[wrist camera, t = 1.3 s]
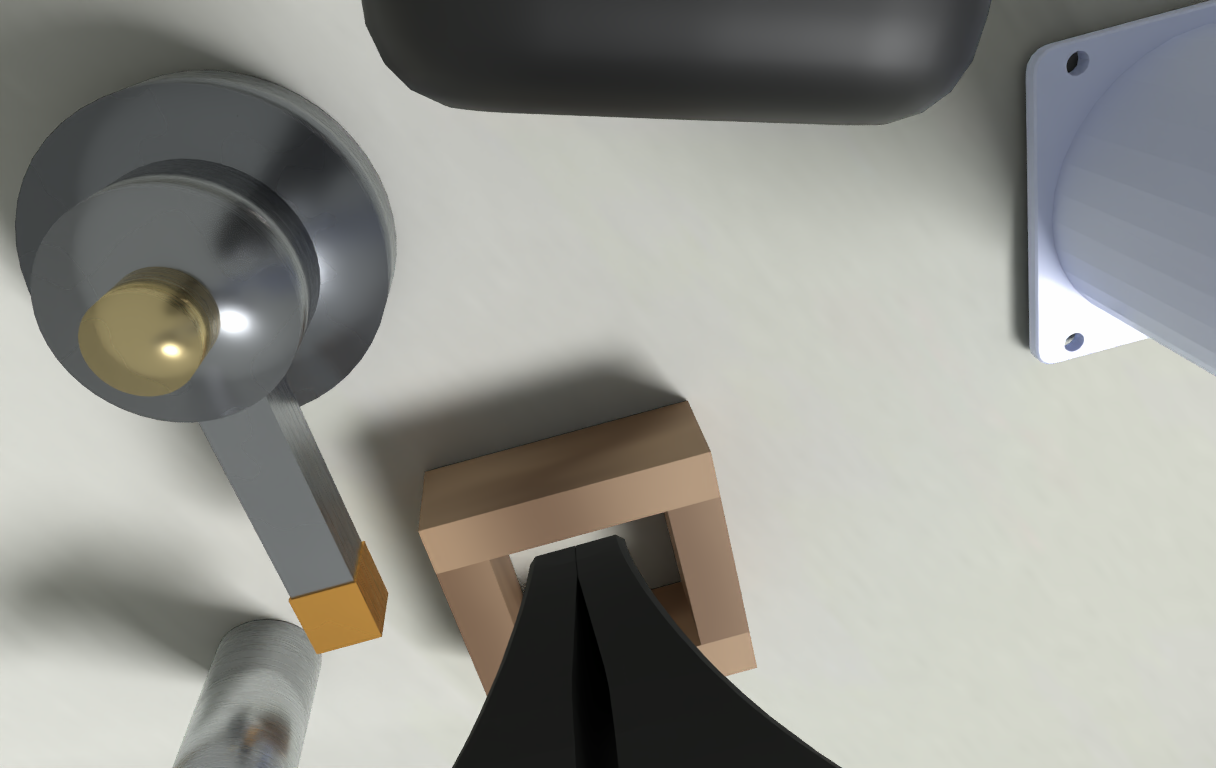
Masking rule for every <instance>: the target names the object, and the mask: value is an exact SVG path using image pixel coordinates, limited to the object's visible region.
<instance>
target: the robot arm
mask: <svg viewBox="0 0 1216 768" xmlns="http://www.w3.org/2000/svg"><path fill="white" fill-rule="evenodd" d="M1075 52H1077V53H1078V57H1079V59H1078V64H1077V66H1076V67H1075V68H1074V70H1073V71H1071V72H1069V73H1068V71H1067V68H1066V65H1067V61H1068V59H1069V58H1070V56H1071V55H1072V54H1073V53H1075ZM1026 124H1027V198H1028V271H1029V345H1030V351H1031V354H1032V355H1033V356H1034V357H1035V358H1037V359H1038V360H1039V361H1041V362H1043V363H1046V364H1054V363H1058V362H1062V361H1065V360H1069V359H1073V358H1076V357H1080V356H1084V355H1087V354H1091V353H1095V352H1098V351H1102V350H1106V349H1110V348H1113V347H1117V346H1121V345H1124V344H1128V343H1132V342H1135V341H1139V340H1143V339H1146V338H1151V339H1153V340H1154V341H1156V342H1158V343H1160V344H1161V345H1163V346H1165V347H1166V348H1168V349H1170V350H1172V351H1173V352H1175V353H1177V354H1179V355H1180V356H1182V357H1184V358H1185V359H1187V360H1189V361H1191V362H1192V363H1194V364H1196V365H1197V366H1199V367H1201V368H1203V369H1204V370H1206V371H1208V372H1209V373H1211V374H1213V375H1215V376H1216V0H1210V1H1206V2H1202V3H1199V4H1195V5H1191V6H1187V7H1184V8H1180V9H1176V10H1173V11H1169V12H1165V13H1161V14H1158V15H1154V16H1150V17H1147V18H1143V19H1139V20H1136V21H1132V22H1128V23H1124V24H1121V25H1117V26H1113V27H1110V28H1106V29H1102V30H1098V31H1095V32H1091V33H1087V34H1084V35H1080V36H1076V37H1072V38H1069V39H1065V40H1061V41H1058V42H1054V43H1050V44H1047V45H1045V46H1043V47H1041V48H1039V49H1038V50H1037V51H1036V52H1035V53H1034V54H1033V55H1032V56H1031V58H1030V60H1029V62H1028V64H1027V69H1026ZM1074 333H1075V336H1074V339H1073V340H1072V341H1071V342H1070V343H1069V344H1067V345H1064V344H1065V341H1066V339H1067V338H1068V337H1069V336H1070V335H1072V334H1074ZM452 768H841V767H840V766H838V765H837V764H835V763H834V762H832V761H831V760H829V759H828V758H826V757H825V756H823V755H822V754H820V753H819V752H817V751H816V750H814V749H813V748H812V747H810V746H809V745H808V744H806V743H805V742H804V741H802V740H801V739H800V738H798V737H797V736H796V735H794V734H793V733H792V732H790V731H789V730H788V729H786V728H785V727H784V726H782V725H781V724H780V723H778V722H777V721H776V720H774V719H773V718H772V717H770V716H769V715H768V714H767V713H766V712H764V711H763V710H762V709H761V708H760V707H759V706H757V705H756V704H755V703H754V702H753V701H752V700H750V699H749V698H748V697H747V696H746V695H745V694H743V693H742V692H741V691H740V690H739V689H738V688H737V687H736V686H735V685H734V684H733V683H732V682H730V681H729V680H728V679H727V678H726V677H725V676H724V675H723V674H722V673H721V672H720V671H719V670H718V669H717V668H716V667H715V666H714V665H713V664H712V663H711V662H710V661H709V660H708V659H707V658H706V657H705V656H704V655H703V653H702V652H701V651H700V650H699V649H698V648H697V647H696V646H695V645H694V644H693V642H692V641H691V640H690V639H689V638H688V637H687V636H686V635H685V633H684V632H683V631H682V630H681V629H680V627H679V626H678V625H677V624H676V623H675V621H674V620H673V619H672V617H671V616H670V615H669V614H668V612H667V611H666V610H665V608H664V607H663V606H662V605H661V603H660V602H659V601H658V599H657V598H656V597H655V595H654V594H653V592H652V591H651V590H650V588H649V587H648V585H647V583H646V582H645V580H644V579H643V577H642V576H641V574H640V572H639V571H638V569H637V567H636V565H635V564H634V562H633V560H632V558H631V556H630V554H629V551H628V549H627V546H626V543H625V539H623V538H621V537H619V536H617V535H613V536H610V537H606V538H602V539H599V540H595V541H591V542H588V543H584V544H580V545H577V546H576V547H575V546H573V547H569V548H566V549H562V550H558V551H555V552H551V553H547V554H544V555H540V556H536V557H535V558H534V560H533V561H532V563H531V564H530V569H529V574H528V579H527V583H526V587H525V591H524V595H523V598H522V602H521V605H520V609H519V612H518V615H517V618H516V622H515V625H514V628H513V631H512V633H511V636H510V639H509V642H508V645H507V648H506V650H505V653H504V656H503V659H502V662H501V664H500V667H499V669H498V672H497V674H496V677H495V679H494V681H493V684H492V686H491V688H490V691H489V693H488V695H487V698H486V700H485V703H484V705H483V707H482V710H481V712H480V714H479V716H478V718H477V720H476V722H475V725H474V727H473V729H472V731H471V733H470V735H469V737H468V739H467V741H466V743H465V745H464V747H463V749H462V750H461V752H460V754H459V756H458V758H457V760H456V762H455V763H454V765H453V767H452Z"/></svg>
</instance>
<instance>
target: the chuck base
mask: <svg viewBox="0 0 1216 768" xmlns="http://www.w3.org/2000/svg"><path fill="white" fill-rule="evenodd" d="M168 159H200V160H206V161H211V162H216V163H220V164H223V165H226V166H229V167H233V168H235V169H237V170H239V171H242V172H244V173H246V174H248V175H250V176H252V177H254V178H255V179H257V180H259V181H260V182H262V183H264V184H265V185H266V186H268V187H269V188H270V189H272V190H273V191H274V192H276V193H277V194H278V195H279V196H280V197H281V198H282V199H283V200H284V201H285V202H286V203H287V204H288V205H289V206H290V207H291V209H292V210H293V211H294V212H295V213H296V214H297V216H298V217H299V219H300V220H301V222H302V223H303V225H304V226H305V228H306V230H307V232H308V234H309V236H310V238H311V240H312V242H313V245H314V248H315V251H316V254H317V258H318V263H319V268H320V293H319V299H318V303H317V307H316V310H315V313H314V315H313V318H312V320H311V322H310V325H309V327H308V329H307V331H306V333H305V335H304V337H303V340H302V342H301V344H300V346H299V348H298V350H297V353H296V355H295V357H294V359H293V361H292V363H291V366H290V367H289V369H288V371H287V372H286V374H285V376H286V379H287V381H288V383H289V385H290V387H291V389H292V392H293V394H294V396H295V398H296V400H297V402H298V405H299V407H300V406H302V405H304V404H306V403H308V402H310V401H312V400H314V399H316V398H318V397H320V396H321V395H323V394H324V393H326V392H327V391H329V390H330V389H332V388H333V387H334V386H336V385H337V384H338V383H339V382H340V381H341V380H342V379H344V378H345V377H346V376H347V375H348V374H349V373H350V372H351V371H352V370H353V368H354V367H355V366H356V365H357V364H358V363H359V361H360V360H361V359H362V357H363V356H364V354H365V353H366V351H367V350H368V348H369V346H370V345H371V343H372V341H373V339H374V337H375V335H376V332H377V330H378V328H379V326H380V323H381V319H382V315H383V312H384V308H385V305H386V301H387V297H388V294H389V290H390V287H391V283H392V279H393V276H394V270H395V262H396V231H395V225H394V218H393V214H392V210H391V207H390V203H389V200H388V196H387V194H386V192H385V189H384V187H383V185H382V182H381V180H380V178H379V176H378V174H377V172H376V171H375V169H374V167H373V165H372V164H371V162H370V160H369V159H368V157H367V156H366V154H365V153H364V152H363V151H362V149H361V148H360V147H359V145H358V144H357V143H356V141H355V140H354V139H353V138H352V137H351V136H350V135H349V134H348V133H347V132H346V131H345V130H344V129H343V128H342V127H341V126H340V125H339V124H338V123H337V122H336V121H335V120H334V119H332V118H331V117H330V116H329V115H328V114H326V113H325V112H324V111H323V110H321V109H320V108H319V107H317V106H316V105H314V104H312V103H311V102H309V101H308V100H306V99H305V98H303V97H301V96H300V95H298V94H296V93H294V92H292V91H290V90H288V89H285V88H283V87H281V86H279V85H277V84H274V83H271V82H268V81H265V80H262V79H259V78H256V77H253V76H248V75H244V74H239V73H234V72H227V71H214V70H196V71H181V72H176V73H171V74H166V75H161V76H158V77H155V78H152V79H149V80H146V81H143V82H141V83H138V84H135V85H133V86H130V87H128V88H125V89H122V90H120V91H117V92H115V93H112V94H110V95H107V96H104V97H102V98H100V99H98V100H96V101H94V102H92V103H90V104H89V105H87V106H85V107H83V108H81V109H79V110H78V111H77V112H75V113H74V114H73V115H71V116H70V117H69V118H67V119H66V120H65V121H63V122H62V123H61V124H60V125H59V126H58V127H57V128H56V129H55V130H54V131H53V132H52V133H51V134H50V135H49V136H48V137H47V139H46V140H45V141H44V142H43V144H42V145H41V147H40V148H39V150H38V151H37V153H36V154H35V156H34V157H33V159H32V161H31V163H30V165H29V167H28V170H27V172H26V174H25V176H24V178H23V182H22V185H21V189H20V193H19V197H18V201H17V210H16V220H15V230H16V247H17V252H18V257H19V262H20V266H21V270H22V273H23V276H24V279H25V282H26V285H27V287H28V290H29V292H30V294H31V274H32V267H33V263H34V260H35V256H36V253H37V250H38V248H39V246H40V244H41V242H42V240H43V238H44V237H45V235H46V234H47V232H48V231H49V230H50V228H51V227H52V225H53V224H54V223H55V222H56V221H57V220H58V219H59V218H60V217H61V216H62V215H63V214H65V213H66V212H67V211H69V210H70V209H72V208H73V207H74V206H76V205H77V204H79V203H80V202H82V201H83V200H85V199H87V198H88V197H90V196H91V195H93V194H95V193H96V192H98V191H99V190H101V189H103V188H104V187H106V186H107V185H109V184H111V183H112V182H114V181H115V180H117V179H118V178H120V177H122V176H123V175H125V174H127V173H129V172H131V171H133V170H134V169H136V168H138V167H141V166H144V165H147V164H150V163H153V162H158V161H163V160H168ZM220 326H221V319H220V313H219V309H218V306H217V304H216V302H215V300H214V298H213V296H212V295H211V294H210V292H209V291H208V290H207V289H206V288H205V287H204V286H203V285H202V284H201V283H200V282H199V281H197V280H196V279H194V278H193V277H192V276H190V275H188V274H186V273H184V272H181V271H179V270H176V269H172V268H167V267H156V266H155V267H146V268H141V269H138V270H135V271H133V272H131V273H129V274H127V275H126V276H125V277H123V278H122V279H121V280H120V281H119V282H118V283H117V284H116V285H114V286H113V287H112V288H111V289H110V290H109V291H108V292H107V293H106V294H105V295H103V296H102V297H101V298H100V299H99V300H98V301H97V302H96V303H95V304H94V305H93V306H92V307H90V308H89V309H88V311H87V312H86V313H85V315H84V316H83V318H82V320H81V323H80V326H79V332H78V342H79V347H80V351H81V354H82V356H83V358H84V360H85V362H86V363H87V365H88V366H89V368H90V369H91V370H92V371H93V372H94V374H96V375H97V376H98V377H99V378H100V379H101V380H102V381H104V382H105V383H106V384H108V385H110V386H111V387H113V388H115V389H117V390H120V391H122V392H125V393H128V394H132V395H137V396H150V397H151V396H160V395H165V394H168V393H171V392H173V391H175V390H177V389H179V388H181V387H182V386H184V385H185V384H186V383H187V382H188V381H189V380H190V379H191V377H192V376H193V375H194V373H195V372H196V370H197V369H198V367H199V366H200V364H201V363H202V361H203V360H204V358H205V357H206V356H207V354H208V353H209V351H210V350H211V348H212V347H213V345H214V344H215V342H216V340H217V338H218V335H219V332H220Z"/></svg>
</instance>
